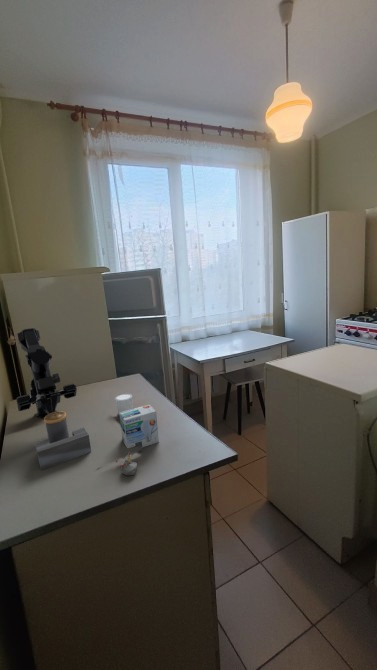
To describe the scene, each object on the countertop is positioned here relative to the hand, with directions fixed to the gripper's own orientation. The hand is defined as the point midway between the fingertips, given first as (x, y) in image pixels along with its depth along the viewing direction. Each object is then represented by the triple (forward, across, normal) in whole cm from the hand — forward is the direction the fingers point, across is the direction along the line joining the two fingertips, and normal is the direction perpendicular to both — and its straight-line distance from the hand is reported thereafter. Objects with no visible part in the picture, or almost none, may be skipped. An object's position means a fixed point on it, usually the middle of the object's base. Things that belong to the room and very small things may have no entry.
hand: (53, 418), depth 99 cm
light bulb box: (+20, +22, -8) cm, 31 cm away
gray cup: (+9, 0, +1) cm, 9 cm away
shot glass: (+3, +26, +9) cm, 28 cm away
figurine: (+29, +13, -16) cm, 35 cm away
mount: (+12, 0, 0) cm, 12 cm away
